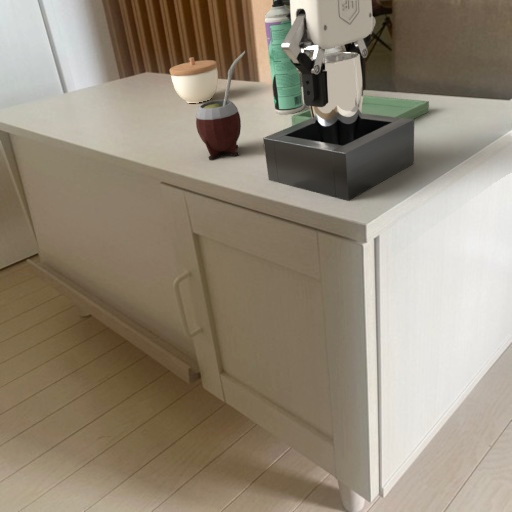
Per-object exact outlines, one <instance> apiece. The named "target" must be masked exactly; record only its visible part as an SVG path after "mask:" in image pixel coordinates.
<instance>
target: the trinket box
mask: <svg viewBox="0 0 512 512" xmlns="http://www.w3.org/2000/svg"><path fill="white" fill-rule="evenodd" d="M188 60H189V62H185V63H181V64H177V65H174V66H172V67H170V68H169V74H170V77H171V81H172V85H173V88H174V90H175V92H176V94H177V95H178V96H179V98H181V99H182V100H183V101H185V102H187V103H186V104H189V103H196V104H200V103H199V102H202V103H204V102H203V101H206V102H208V101H207V100H209V101H211V100H212V99H213V96H214V95H215V93H216V92H217V89H218V87H219V72H218V62H217V61H216V60H211V59H206V60H205V59H204V60H195V57H194V56H193V57H189V59H188ZM211 98H212V99H211ZM210 99H211V100H210Z"/></svg>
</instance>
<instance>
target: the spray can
mask: <svg viewBox="0 0 512 512" xmlns="http://www.w3.org/2000/svg"><path fill="white" fill-rule="evenodd" d="M264 18H265V19H264V27H265V35H266V36H265V37H266V43H267V44H266V45H267V52H268V53H267V54H268V61H269V68H270V69H269V70H270V76H271V86H272V95H273V103H274V110H275V113H276V114H279V115H291V114H295V113H296V114H297V113H300V112H302V111H303V110H304V99H303V88H302V77H301V74H300V73H298V72H297V68H296V67H295V66H294V65H293V64H292V63H291V61H290V58H289V57H288V56H287V55H286V53H285V52H284V51H283V50H282V43H283V41H284V39H285V37H286V36H287V34H288V32H289V30H290V28H291V27H292V25H291V12H290V7H289V8H288V7H287V4H285V3H284V1H283V0H272V5H271V7H270V10H268V11H267V13H266V14H264Z"/></svg>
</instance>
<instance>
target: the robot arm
mask: <svg viewBox="0 0 512 512" xmlns="http://www.w3.org/2000/svg"><path fill="white" fill-rule="evenodd" d="M372 2H373V1H372V0H289V9H290V12H291V25H292V27H291V28H290V30H289V32H288V34H287V36H286V37H285V39H284V41H283V43H282V50H283V51H284V52H285V53H286V55H287V56H288V57H289V58H290V61H291V63H292V64H293V65H294V66H295V67H296V68H297V72H298V73H300V75H301V85H302V96H303V105H304V106H308V107H309V106H314V107H324V106H326V103H327V102H326V88H325V75H324V73H320V69H321V65H322V61H323V57H324V54H325V52H326V50H332V49H335V48H339V47H341V49H342V52H357V53H359V54H360V62H361V70H362V79H363V91H365V90H366V87H367V86H366V85H367V84H366V61H365V60H366V59H365V58H367V56H368V53H369V52H368V51H369V50H368V47H369V45H370V42H371V39H372V36H371V35H372V34H373V32H374V29H375V26H376V23H377V20H376V18H375V17H374V16H373V3H372ZM311 53H312V54H313V55H312V57H313V59H312V60H311V59H310V58H311V57H310V56H311Z"/></svg>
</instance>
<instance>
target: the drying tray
mask: <svg viewBox="0 0 512 512" xmlns="http://www.w3.org/2000/svg"><path fill="white" fill-rule="evenodd" d="M429 109H430V101H428V100H420V99H409V98H400V97H399V98H398V97H385V96H374V95H364V94H363V108H362V113H363V114H372V115H380V116H389V117H397V118H405V119H414V120H415V119H416V118H418V117H422V115H424V114H427V113H429V111H430V110H429ZM290 118H291V126H293V125H296V124H298V123H301V122H303V121H305V120H308V119H310V118H312V117H311V112H310V108H309V109H306V110H304V111H303V110H302V111H300V112H297V113H296V114H293V115H291V116H290Z"/></svg>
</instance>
